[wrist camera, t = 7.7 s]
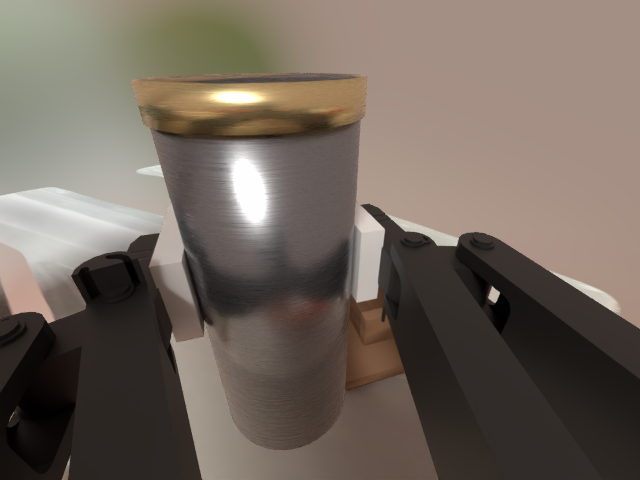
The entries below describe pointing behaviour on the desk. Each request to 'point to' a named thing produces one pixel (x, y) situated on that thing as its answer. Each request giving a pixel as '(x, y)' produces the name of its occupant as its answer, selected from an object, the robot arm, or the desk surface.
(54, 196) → the desk surface
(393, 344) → the socket base
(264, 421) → the grey post
